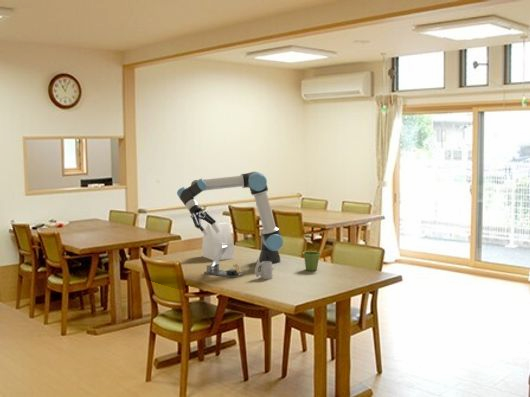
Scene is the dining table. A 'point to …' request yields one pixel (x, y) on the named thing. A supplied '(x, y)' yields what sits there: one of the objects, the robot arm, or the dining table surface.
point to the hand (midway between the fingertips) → (212, 233)
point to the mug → (264, 269)
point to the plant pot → (311, 260)
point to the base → (228, 273)
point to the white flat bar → (218, 256)
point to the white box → (218, 242)
